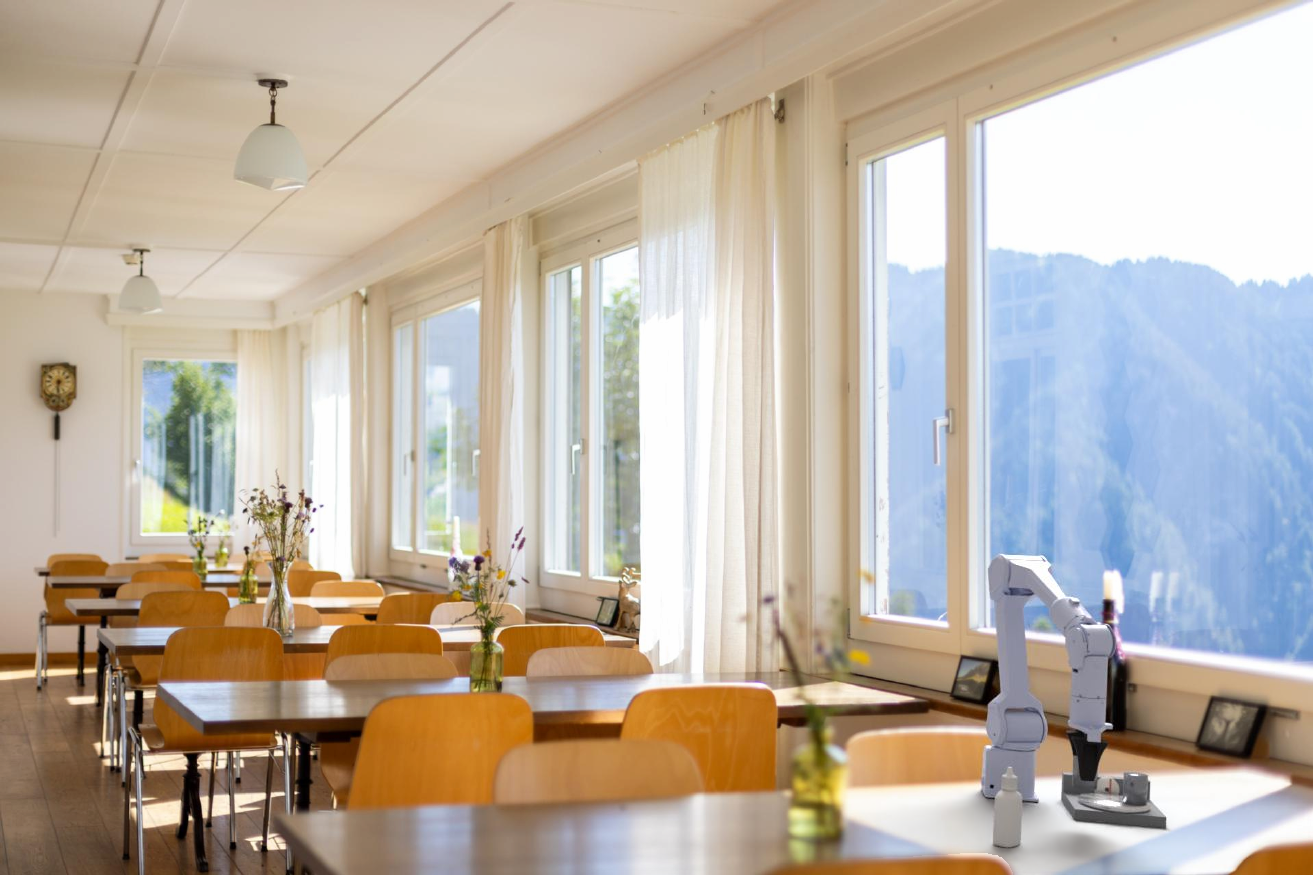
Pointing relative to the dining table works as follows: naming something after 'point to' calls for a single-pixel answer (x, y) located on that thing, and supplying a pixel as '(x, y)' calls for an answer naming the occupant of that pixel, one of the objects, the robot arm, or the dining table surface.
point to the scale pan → (1110, 803)
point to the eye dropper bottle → (1007, 812)
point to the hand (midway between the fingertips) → (1084, 777)
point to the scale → (1090, 814)
